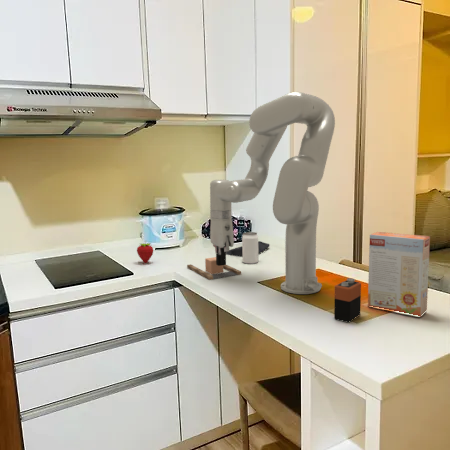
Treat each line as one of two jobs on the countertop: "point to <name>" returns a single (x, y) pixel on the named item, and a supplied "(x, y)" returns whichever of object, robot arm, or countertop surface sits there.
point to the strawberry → (145, 252)
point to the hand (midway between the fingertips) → (221, 264)
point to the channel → (215, 276)
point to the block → (212, 266)
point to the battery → (347, 300)
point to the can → (250, 247)
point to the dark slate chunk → (238, 250)
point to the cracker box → (398, 272)
